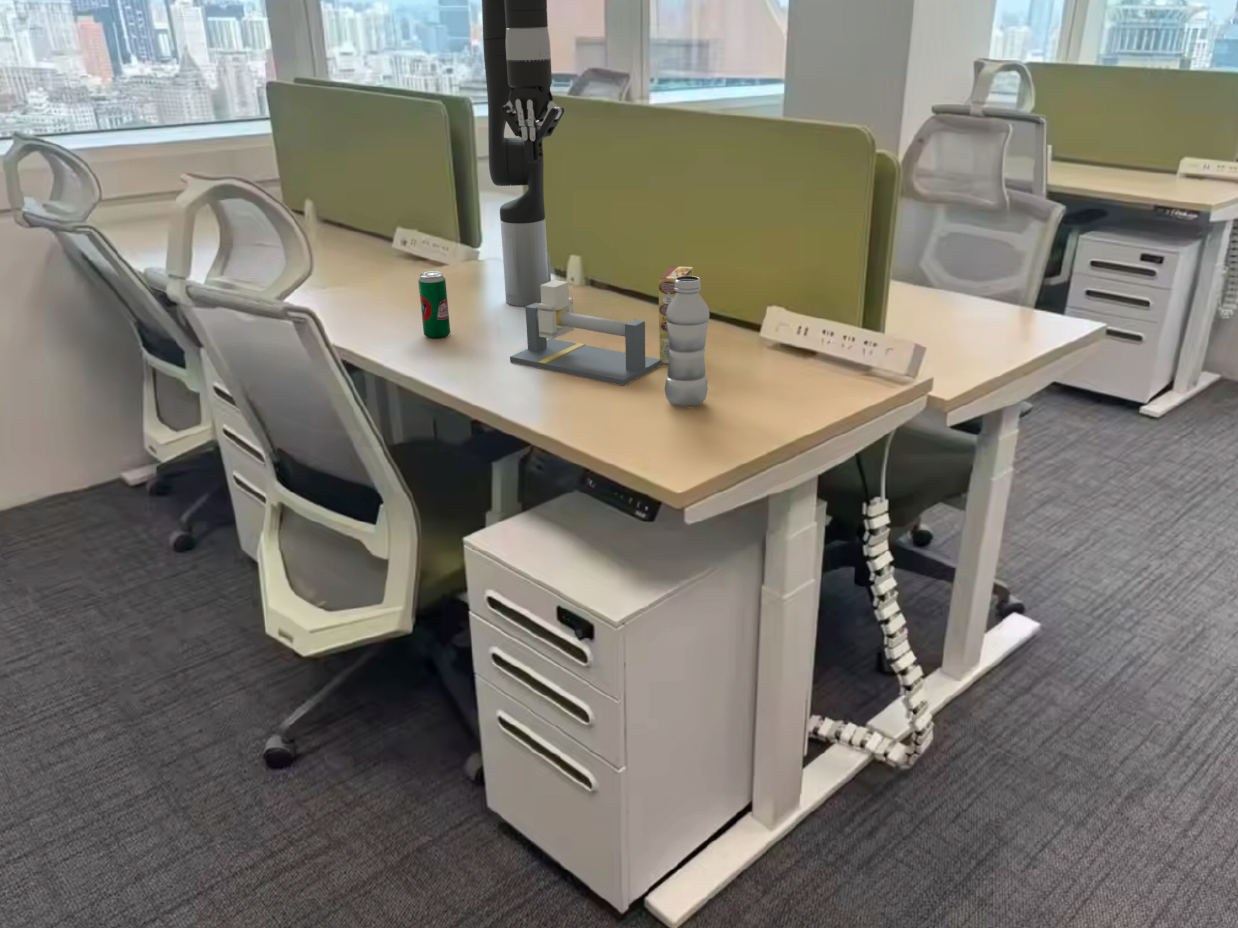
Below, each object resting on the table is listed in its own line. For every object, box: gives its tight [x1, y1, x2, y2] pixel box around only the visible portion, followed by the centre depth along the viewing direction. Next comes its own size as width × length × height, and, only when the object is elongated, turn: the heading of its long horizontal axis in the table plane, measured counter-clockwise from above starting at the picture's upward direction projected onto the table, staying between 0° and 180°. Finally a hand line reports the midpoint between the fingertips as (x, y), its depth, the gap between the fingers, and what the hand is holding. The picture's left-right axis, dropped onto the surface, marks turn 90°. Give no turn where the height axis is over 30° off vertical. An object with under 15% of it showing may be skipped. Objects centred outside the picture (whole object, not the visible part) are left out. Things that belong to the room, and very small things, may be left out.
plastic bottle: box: [664, 275, 711, 408], centre depth 153 cm, size 6×7×20 cm
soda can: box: [417, 270, 451, 340], centre depth 190 cm, size 5×5×12 cm
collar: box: [538, 279, 575, 339], centre depth 175 cm, size 6×3×9 cm, turn 147°
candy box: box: [657, 265, 694, 365], centre depth 175 cm, size 9×4×15 cm, turn 162°
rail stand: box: [509, 303, 662, 387], centre depth 174 cm, size 12×24×9 cm, turn 57°
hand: (534, 162), depth 177 cm, fingers closed
